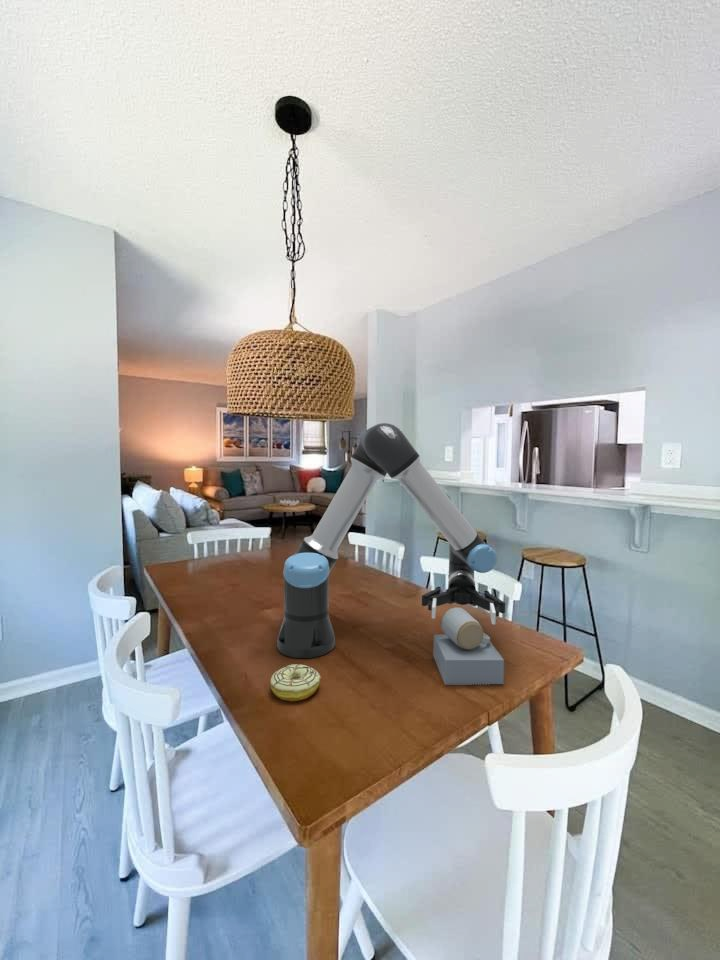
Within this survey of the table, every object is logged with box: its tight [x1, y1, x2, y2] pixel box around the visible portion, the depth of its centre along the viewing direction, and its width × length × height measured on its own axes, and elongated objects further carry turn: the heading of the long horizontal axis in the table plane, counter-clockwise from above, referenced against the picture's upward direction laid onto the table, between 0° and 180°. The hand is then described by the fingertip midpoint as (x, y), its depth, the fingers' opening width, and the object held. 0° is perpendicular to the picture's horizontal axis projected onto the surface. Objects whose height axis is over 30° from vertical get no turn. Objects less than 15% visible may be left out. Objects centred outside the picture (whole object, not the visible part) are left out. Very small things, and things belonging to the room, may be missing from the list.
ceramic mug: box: [441, 606, 491, 650], centre depth 99 cm, size 11×8×8 cm
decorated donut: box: [270, 663, 321, 702], centre depth 89 cm, size 10×11×4 cm
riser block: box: [433, 634, 505, 686], centre depth 98 cm, size 13×13×6 cm
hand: (463, 615), depth 96 cm, fingers open, 13 cm apart
